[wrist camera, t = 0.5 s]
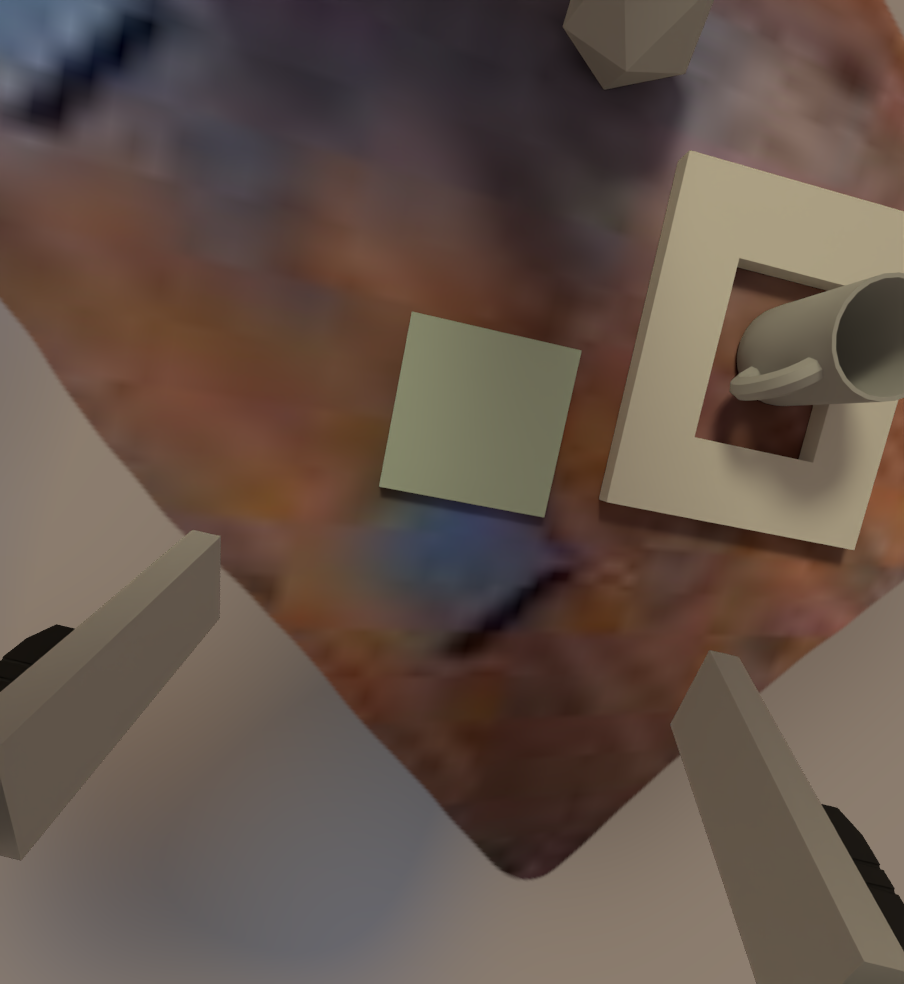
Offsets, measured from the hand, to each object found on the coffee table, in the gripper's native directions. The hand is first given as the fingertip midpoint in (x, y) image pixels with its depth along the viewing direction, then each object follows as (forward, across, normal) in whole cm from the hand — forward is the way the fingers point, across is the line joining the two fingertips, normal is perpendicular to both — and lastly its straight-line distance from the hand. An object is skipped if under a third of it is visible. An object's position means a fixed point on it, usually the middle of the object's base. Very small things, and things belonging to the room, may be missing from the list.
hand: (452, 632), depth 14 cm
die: (+34, +3, +23) cm, 41 cm away
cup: (+30, +19, +6) cm, 36 cm away
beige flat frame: (+30, +19, +6) cm, 36 cm away
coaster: (+25, -1, -1) cm, 25 cm away
